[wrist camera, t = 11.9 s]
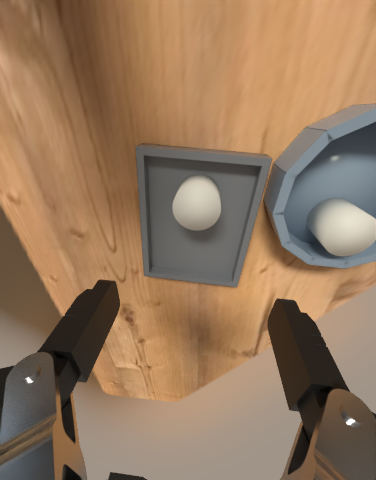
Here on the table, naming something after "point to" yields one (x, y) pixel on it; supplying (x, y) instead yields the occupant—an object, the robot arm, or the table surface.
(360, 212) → the white marshmallow
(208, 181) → the marshmallow
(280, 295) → the table surface
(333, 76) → the table surface
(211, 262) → the parts tray
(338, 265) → the bowl
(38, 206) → the table surface
